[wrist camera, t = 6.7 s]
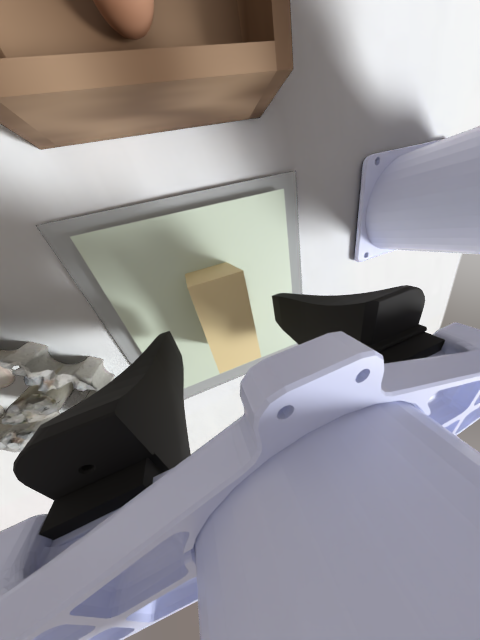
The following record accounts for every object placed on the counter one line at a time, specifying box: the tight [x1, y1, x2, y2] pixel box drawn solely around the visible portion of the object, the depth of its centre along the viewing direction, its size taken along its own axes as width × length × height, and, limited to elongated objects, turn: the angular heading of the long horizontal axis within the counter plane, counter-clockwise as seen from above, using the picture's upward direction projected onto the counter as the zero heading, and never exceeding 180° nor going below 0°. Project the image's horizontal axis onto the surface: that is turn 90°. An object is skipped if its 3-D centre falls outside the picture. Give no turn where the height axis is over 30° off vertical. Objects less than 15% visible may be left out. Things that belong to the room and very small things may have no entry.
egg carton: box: [0, 342, 115, 452], centre depth 11 cm, size 11×8×4 cm
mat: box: [36, 171, 302, 400], centre depth 15 cm, size 16×16×1 cm
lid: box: [70, 189, 296, 388], centre depth 12 cm, size 13×13×5 cm
